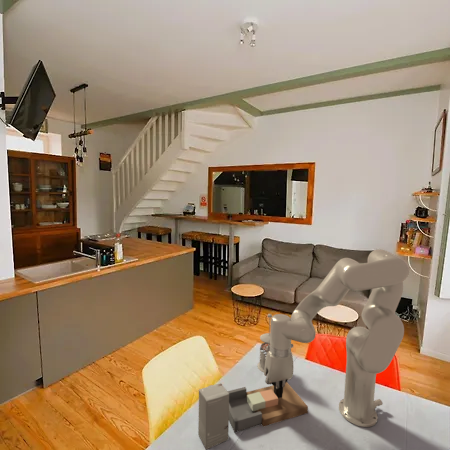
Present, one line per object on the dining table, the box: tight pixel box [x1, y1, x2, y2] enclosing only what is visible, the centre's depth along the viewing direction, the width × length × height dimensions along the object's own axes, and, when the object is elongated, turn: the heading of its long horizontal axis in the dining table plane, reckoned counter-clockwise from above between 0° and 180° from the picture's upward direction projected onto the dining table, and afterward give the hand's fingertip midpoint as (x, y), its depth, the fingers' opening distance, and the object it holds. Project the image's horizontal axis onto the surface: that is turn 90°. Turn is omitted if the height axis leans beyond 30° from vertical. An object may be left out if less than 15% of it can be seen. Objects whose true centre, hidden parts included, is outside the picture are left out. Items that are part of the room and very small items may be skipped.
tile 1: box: [247, 392, 266, 411], centre depth 102 cm, size 5×5×2 cm
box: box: [227, 386, 262, 433], centre depth 101 cm, size 10×14×4 cm
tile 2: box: [260, 389, 278, 408], centre depth 103 cm, size 5×5×2 cm
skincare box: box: [197, 382, 230, 450], centre depth 90 cm, size 8×7×16 cm
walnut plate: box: [246, 381, 309, 427], centre depth 105 cm, size 18×14×2 cm
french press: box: [257, 313, 273, 373], centre depth 125 cm, size 10×12×25 cm
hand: (278, 395), depth 105 cm, fingers closed
